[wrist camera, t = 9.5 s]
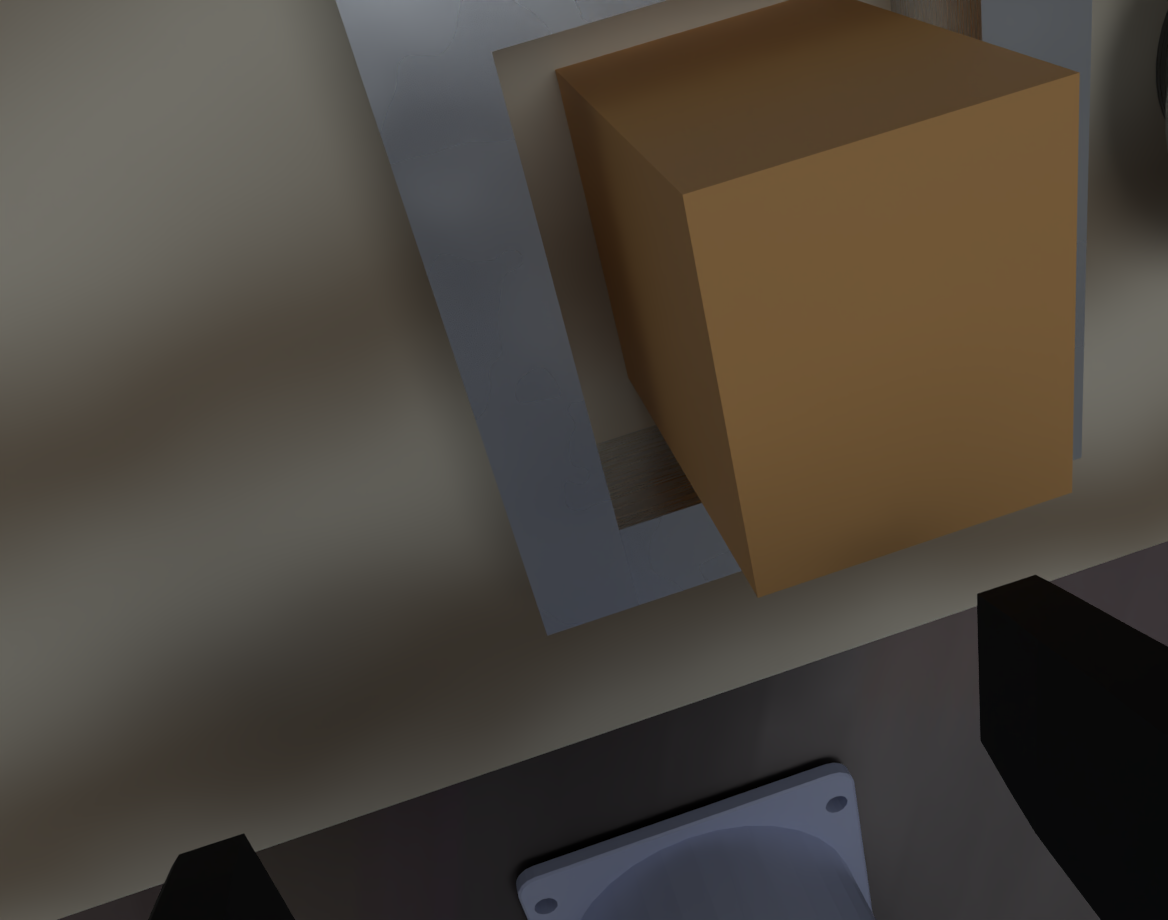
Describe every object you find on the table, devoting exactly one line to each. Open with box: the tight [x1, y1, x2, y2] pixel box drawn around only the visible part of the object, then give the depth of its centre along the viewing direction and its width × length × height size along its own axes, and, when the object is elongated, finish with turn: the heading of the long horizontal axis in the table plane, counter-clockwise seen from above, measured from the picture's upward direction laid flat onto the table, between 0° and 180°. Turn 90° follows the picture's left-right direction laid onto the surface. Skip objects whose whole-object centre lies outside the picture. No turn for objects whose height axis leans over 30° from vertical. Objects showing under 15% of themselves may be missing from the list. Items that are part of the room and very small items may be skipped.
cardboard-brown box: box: [555, 0, 1080, 598], centre depth 14 cm, size 5×4×6 cm
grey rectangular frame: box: [336, 0, 1168, 636], centre depth 14 cm, size 13×17×4 cm
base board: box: [0, 0, 1168, 920], centre depth 17 cm, size 18×32×1 cm, turn 104°
